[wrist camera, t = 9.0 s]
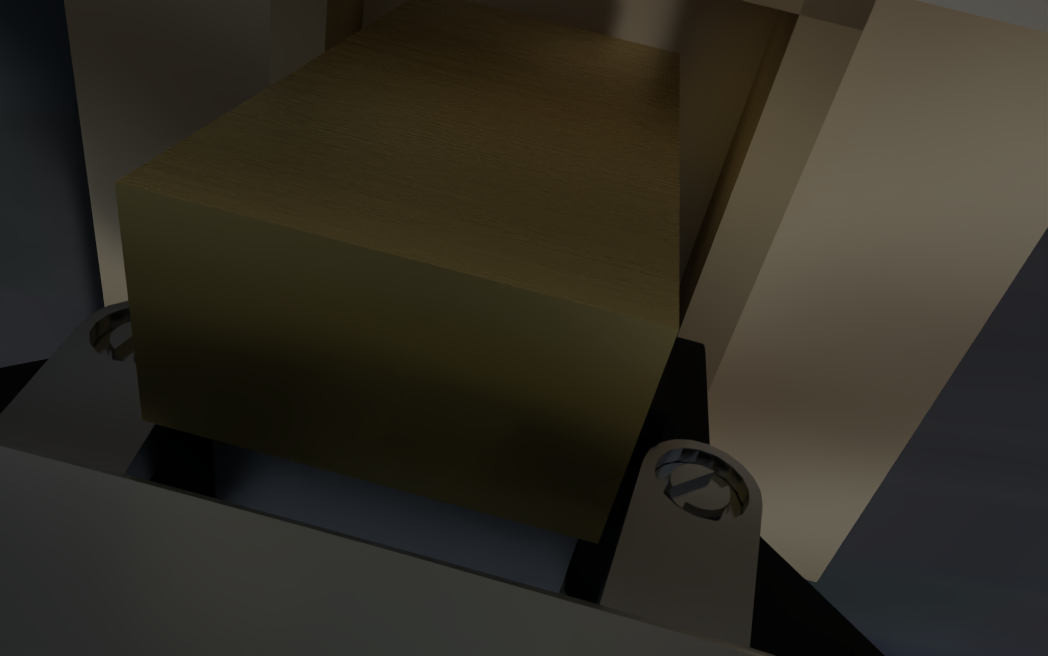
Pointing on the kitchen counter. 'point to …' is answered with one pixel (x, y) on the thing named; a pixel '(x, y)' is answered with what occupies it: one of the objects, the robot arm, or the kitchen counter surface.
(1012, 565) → the kitchen counter surface
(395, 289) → the latch bar
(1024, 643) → the kitchen counter surface
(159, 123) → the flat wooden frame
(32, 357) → the kitchen counter surface
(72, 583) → the robot arm
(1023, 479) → the kitchen counter surface
